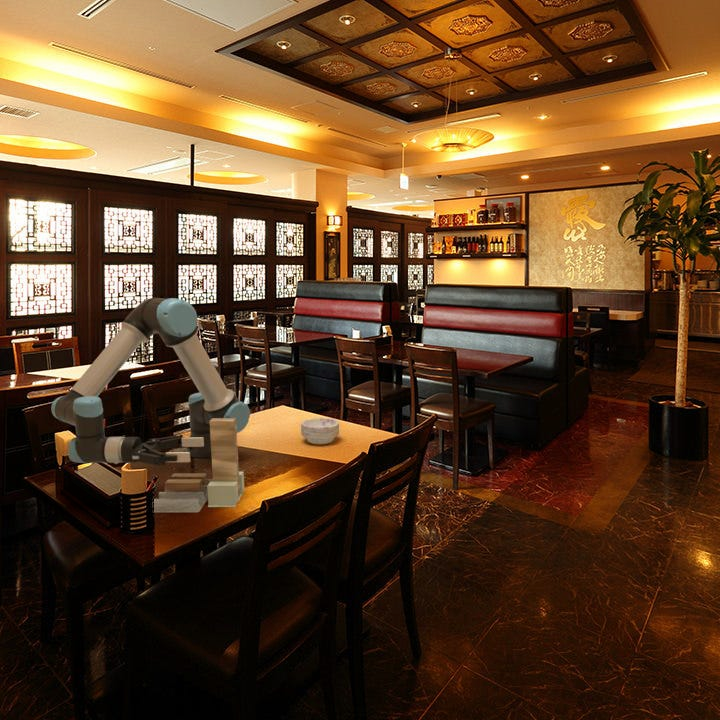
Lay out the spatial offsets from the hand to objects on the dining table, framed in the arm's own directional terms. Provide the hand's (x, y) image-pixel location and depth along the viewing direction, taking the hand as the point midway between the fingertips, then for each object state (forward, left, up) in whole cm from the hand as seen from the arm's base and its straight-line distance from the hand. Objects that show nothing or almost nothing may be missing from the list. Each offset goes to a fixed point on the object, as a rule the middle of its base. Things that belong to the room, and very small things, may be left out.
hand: (196, 449), depth 164 cm
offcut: (-3, -4, -15) cm, 16 cm away
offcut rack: (+1, -4, -17) cm, 17 cm away
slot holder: (0, +8, -17) cm, 18 cm away
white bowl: (-58, +31, -17) cm, 68 cm away
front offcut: (+2, -4, -15) cm, 16 cm away
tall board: (0, +8, -15) cm, 17 cm away
